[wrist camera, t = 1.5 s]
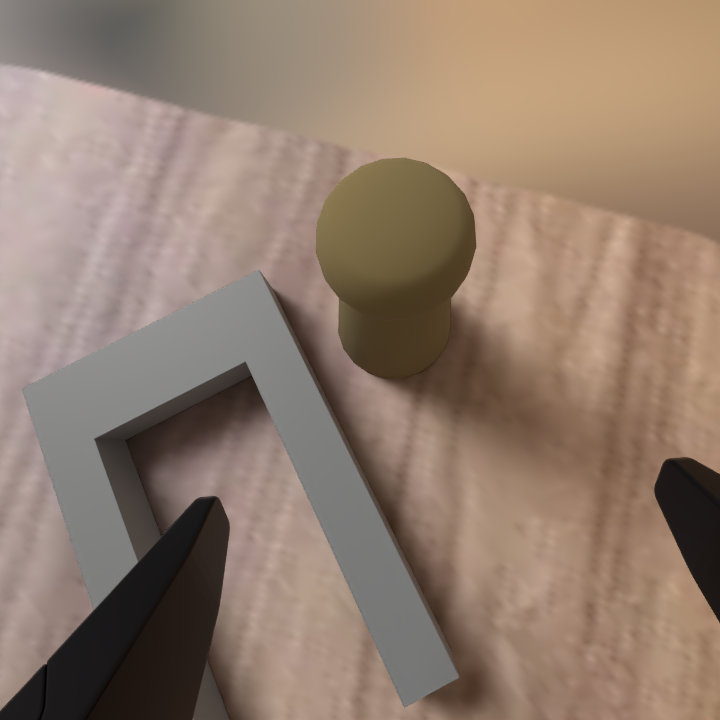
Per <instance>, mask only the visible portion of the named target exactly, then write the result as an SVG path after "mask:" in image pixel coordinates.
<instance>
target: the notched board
mask: <svg viewBox="0 0 720 720" xmlns="http://www.w3.org/2000/svg"><path fill="white" fill-rule="evenodd" d="M250 376H253V379H254V381H255V383H256V385H257V387H258V390H259V392H260V394H261V396H262V398H263V400H264V403H265V405H266V407H267V409H268V411H269V414H270V416H271V418H272V420H273V422H274V424H275V427H276V429H277V431H278V433H279V435H280V438H281V440H282V442H283V444H284V446H285V448H286V451H287V453H288V455H289V457H290V459H291V462H292V464H293V466H294V468H295V470H296V472H297V475H298V477H299V479H300V481H301V483H302V486H303V488H304V490H305V492H306V494H307V496H308V499H309V501H310V503H311V505H312V507H313V510H314V512H315V514H316V516H317V518H318V520H319V523H320V525H321V527H322V529H323V531H324V534H325V536H326V538H327V540H328V542H329V544H330V547H331V549H332V551H333V553H334V555H335V558H336V560H337V562H338V564H339V566H340V568H341V571H342V573H343V575H344V577H345V579H346V582H347V584H348V586H349V588H350V590H351V592H352V595H353V597H354V599H355V601H356V603H357V606H358V608H359V610H360V612H361V614H362V616H363V619H364V621H365V623H366V625H367V627H368V630H369V632H370V634H371V636H372V638H373V640H374V643H375V645H376V647H377V649H378V651H379V654H380V656H381V658H382V660H383V662H384V664H385V667H386V669H387V671H388V673H389V675H390V678H391V680H392V682H393V684H394V686H395V688H396V691H397V693H398V695H399V697H400V699H401V702H402V704H403V706H404V708H405V707H406V706H408V705H410V704H412V703H414V702H416V701H417V700H419V699H421V698H423V697H425V696H427V695H428V694H430V693H432V692H434V691H436V690H438V689H439V688H441V687H443V686H445V685H447V684H449V683H450V682H452V681H454V680H456V679H458V678H459V675H458V671H457V668H456V665H455V661H454V658H453V654H452V651H451V649H450V647H449V645H448V643H447V641H446V639H445V637H444V635H443V633H442V631H441V628H440V626H439V624H438V622H437V620H436V618H435V616H434V614H433V612H432V610H431V608H430V606H429V604H428V602H427V600H426V598H425V596H424V594H423V592H422V590H421V588H420V586H419V584H418V582H417V580H416V578H415V576H414V574H413V572H412V570H411V568H410V566H409V564H408V562H407V560H406V558H405V556H404V554H403V552H402V550H401V548H400V546H399V544H398V542H397V539H396V537H395V535H394V533H393V531H392V529H391V527H390V525H389V523H388V521H387V519H386V517H385V515H384V513H383V511H382V509H381V507H380V505H379V503H378V501H377V499H376V497H375V495H374V493H373V491H372V489H371V487H370V485H369V483H368V481H367V479H366V477H365V475H364V473H363V471H362V469H361V467H360V465H359V463H358V461H357V459H356V457H355V455H354V453H353V450H352V448H351V446H350V444H349V442H348V440H347V438H346V436H345V434H344V432H343V430H342V428H341V426H340V424H339V422H338V420H337V418H336V416H335V414H334V412H333V410H332V408H331V406H330V404H329V402H328V400H327V398H326V396H325V394H324V392H323V390H322V388H321V386H320V384H319V382H318V380H317V378H316V376H315V374H314V372H313V370H312V368H311V366H310V364H309V362H308V359H307V357H306V355H305V353H304V351H303V349H302V347H301V345H300V343H299V341H298V339H297V337H296V335H295V333H294V331H293V329H292V327H291V325H290V323H289V321H288V319H287V317H286V315H285V313H284V311H283V309H282V307H281V305H280V303H279V301H278V299H277V297H276V295H275V293H274V291H273V289H272V287H271V286H270V284H269V283H268V282H267V280H266V279H265V277H264V276H263V275H262V273H261V272H260V271H259V270H257V271H255V272H253V273H251V274H249V275H247V276H245V277H243V278H241V279H239V280H237V281H235V282H233V283H231V284H229V285H227V286H225V287H223V288H221V289H219V290H217V291H215V292H213V293H211V294H209V295H207V296H205V297H203V298H201V299H199V300H197V301H195V302H193V303H191V304H189V305H187V306H185V307H183V308H181V309H179V310H177V311H175V312H173V313H171V314H169V315H167V316H165V317H163V318H161V319H159V320H157V321H155V322H153V323H151V324H149V325H147V326H145V327H144V328H142V329H140V330H138V331H136V332H134V333H132V334H130V335H128V336H126V337H124V338H122V339H120V340H118V341H116V342H114V343H112V344H110V345H108V346H106V347H104V348H102V349H100V350H98V351H96V352H94V353H92V354H90V355H88V356H86V357H84V358H82V359H80V360H78V361H76V362H74V363H72V364H70V365H68V366H66V367H64V368H62V369H60V370H58V371H56V372H54V373H52V374H50V375H48V376H46V377H44V378H42V379H40V380H38V381H36V382H34V383H32V384H30V385H28V386H26V387H24V388H22V391H23V394H24V397H25V400H26V403H27V407H28V410H29V413H30V416H31V419H32V422H33V425H34V428H35V431H36V434H37V437H38V440H39V443H40V447H41V450H42V453H43V456H44V459H45V462H46V465H47V468H48V471H49V474H50V477H51V480H52V483H53V487H54V490H55V493H56V496H57V499H58V502H59V505H60V508H61V511H62V514H63V517H64V520H65V523H66V527H67V530H68V533H69V536H70V539H71V542H72V545H73V548H74V551H75V554H76V557H77V560H78V563H79V567H80V570H81V573H82V576H83V579H84V582H85V585H86V588H87V591H88V594H89V597H90V600H91V603H92V607H93V610H94V609H95V608H96V607H97V606H98V605H99V604H100V603H101V602H102V601H103V600H104V598H105V597H106V596H107V595H108V594H109V593H110V592H111V591H112V590H113V589H114V588H115V586H116V585H117V584H118V583H119V582H120V581H121V580H122V579H123V578H124V577H125V576H126V575H127V573H128V572H129V571H130V570H131V569H132V568H133V567H134V566H135V565H136V564H137V563H138V561H139V560H140V559H141V558H142V557H143V556H144V555H145V554H146V553H147V552H148V551H149V550H150V548H151V547H152V546H153V545H154V544H155V543H156V542H157V541H158V540H159V539H160V538H161V534H160V531H159V529H158V526H157V523H156V521H155V518H154V515H153V513H152V510H151V507H150V505H149V502H148V499H147V497H146V494H145V491H144V489H143V486H142V483H141V480H140V478H139V475H138V472H137V470H136V467H135V464H134V462H133V459H132V456H131V454H130V451H129V448H128V446H127V443H126V440H127V439H129V438H131V437H133V436H135V435H137V434H139V433H141V432H143V431H145V430H147V429H149V428H150V427H152V426H154V425H156V424H158V423H160V422H162V421H164V420H166V419H168V418H170V417H172V416H174V415H176V414H178V413H180V412H182V411H184V410H186V409H188V408H190V407H191V406H193V405H195V404H197V403H199V402H201V401H203V400H205V399H207V398H209V397H211V396H213V395H215V394H217V393H219V392H221V391H223V390H225V389H227V388H229V387H231V386H232V385H234V384H236V383H238V382H240V381H242V380H244V379H246V378H248V377H250ZM193 720H230V719H229V717H228V714H227V711H226V709H225V706H224V703H223V700H222V698H221V695H220V692H219V690H218V687H217V684H216V682H215V679H214V676H213V674H212V671H211V668H210V666H209V663H208V660H207V662H206V666H205V670H204V674H203V678H202V683H201V687H200V691H199V695H198V699H197V703H196V708H195V712H194V716H193Z"/></svg>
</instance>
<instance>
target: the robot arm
mask: <svg viewBox="0 0 720 720" xmlns="http://www.w3.org/2000/svg"><path fill="white" fill-rule="evenodd" d="M654 492H655V497H656V500H657V502H658V504H659V506H660V508H661V510H662V513H663V515H664V517H665V519H666V521H667V523H668V526H669V528H670V530H671V532H672V534H673V536H674V539H675V541H676V543H677V545H678V547H679V549H680V552H681V554H682V556H683V558H684V560H685V562H686V564H687V566H688V568H689V570H690V572H691V574H692V576H693V578H694V579H695V581H696V583H697V585H698V587H699V588H700V590H701V592H702V593H703V595H704V597H705V598H706V600H707V602H708V604H709V605H710V607H711V609H712V610H713V612H714V614H715V615H716V617H717V619H718V621H719V622H720V474H719V473H717V472H715V471H713V470H712V469H710V468H708V467H706V466H705V465H703V464H701V463H699V462H697V461H696V460H694V459H692V458H688V457H682V458H670V459H667V460H665V461H664V463H663V465H662V467H661V470H660V473H659V475H658V478H657V481H656V483H655V488H654ZM229 533H230V525H229V520H228V518H227V515H226V513H225V510H224V508H223V506H222V503H221V501H220V499H219V498H218V497H216V496H209V497H200V498H197V499H196V500H195V501H194V502H193V503H192V504H191V505H190V506H189V507H188V508H187V509H186V510H185V511H184V513H183V514H182V515H181V516H180V517H179V518H178V519H177V520H176V521H175V522H174V523H173V525H172V526H171V527H170V528H169V529H168V530H167V531H166V532H165V533H164V534H163V535H162V536H161V538H160V539H159V540H158V541H157V542H156V543H155V544H154V545H153V546H152V547H151V548H150V550H149V551H148V552H147V553H146V554H145V555H144V556H143V557H142V558H141V559H140V560H139V561H138V563H137V564H136V565H135V566H134V567H133V568H132V569H131V570H130V571H129V572H128V573H127V575H126V576H125V577H124V578H123V579H122V580H121V581H120V582H119V583H118V584H117V585H116V586H115V588H114V589H113V590H112V591H111V592H110V593H109V594H108V595H107V596H106V597H105V598H104V600H103V601H102V602H101V603H100V604H99V605H98V606H97V607H96V608H95V609H94V610H93V611H92V613H91V614H90V615H89V616H88V617H87V618H86V619H85V620H84V621H83V622H82V623H81V625H80V626H79V627H78V628H77V629H76V630H75V631H74V632H73V633H72V634H71V635H70V636H69V638H68V639H67V640H66V641H65V642H64V643H63V644H62V645H61V646H60V647H59V648H58V650H57V651H56V652H55V653H54V654H53V655H52V656H51V657H50V658H49V659H48V661H47V664H44V665H43V666H42V667H41V668H40V669H39V670H38V671H37V672H36V673H35V674H34V675H33V676H32V678H31V679H30V680H29V681H28V682H27V683H26V684H25V685H24V686H23V687H22V688H21V689H20V691H19V692H18V693H17V694H16V695H15V696H14V697H13V698H12V699H11V700H10V701H9V702H8V703H7V704H6V705H5V706H4V707H3V708H2V709H1V711H0V720H193V716H194V712H195V708H196V703H197V699H198V695H199V691H200V687H201V683H202V678H203V674H204V670H205V666H206V662H207V658H208V653H209V649H210V645H211V641H212V637H213V633H214V628H215V624H216V620H217V616H218V611H219V606H220V600H221V594H222V586H223V578H224V571H225V563H226V556H227V548H228V540H229Z"/></svg>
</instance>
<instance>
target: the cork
mask: <svg viewBox="0 0 720 720" xmlns="http://www.w3.org/2000/svg"><path fill="white" fill-rule="evenodd" d="M475 249H476V235H475V221H474V215H473V212H472V210H471V208H470V205H469V203H468V201H467V198H466V196H465V194H464V193H463V192H462V191H461V190H460V188H459V187H458V186H457V185H456V184H455V183H454V182H453V181H452V180H451V179H450V177H448V176H447V175H446V174H445V173H443V172H441V171H439V170H438V169H436V168H434V167H432V166H431V165H429V164H427V163H424V162H420V161H416V160H412V159H407V158H393V159H381V160H378V161H375V162H372V163H369V164H366V165H363V166H361V167H360V168H358V169H357V170H355V171H354V172H353V173H351V174H350V175H348V176H347V177H345V178H344V179H343V180H342V181H340V182H339V184H338V185H337V186H336V187H335V189H334V190H333V191H332V192H331V194H330V195H329V196H328V198H327V199H326V200H325V203H324V205H323V208H322V211H321V214H320V216H319V219H318V222H317V229H316V254H317V257H318V260H319V263H320V266H321V269H322V272H323V275H324V277H325V280H326V282H327V283H328V284H329V286H330V287H331V288H332V290H333V291H334V292H335V293H336V295H337V296H338V297H339V328H338V333H339V336H340V339H341V342H342V345H343V348H344V350H345V351H346V353H347V354H348V355H349V357H350V358H351V359H352V361H353V362H354V363H355V364H357V365H358V366H359V367H361V368H362V369H364V370H365V371H367V372H368V373H371V374H374V375H377V376H380V377H384V378H405V377H408V376H411V375H414V374H417V373H420V372H422V371H423V370H425V369H426V368H427V367H429V366H430V365H432V364H433V363H434V362H436V360H437V359H438V357H439V356H440V355H441V353H442V352H443V350H444V349H445V347H446V344H447V341H448V338H449V334H450V331H451V297H452V296H453V295H454V294H455V292H456V291H457V289H458V288H459V287H460V285H461V284H462V282H463V281H464V280H465V278H466V276H467V274H468V272H469V270H470V267H471V263H472V260H473V256H474V253H475Z"/></svg>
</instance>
